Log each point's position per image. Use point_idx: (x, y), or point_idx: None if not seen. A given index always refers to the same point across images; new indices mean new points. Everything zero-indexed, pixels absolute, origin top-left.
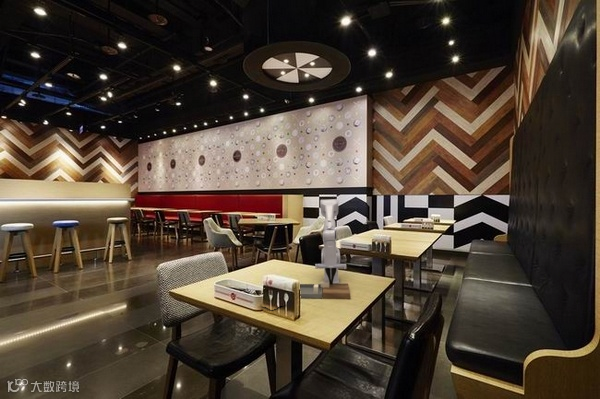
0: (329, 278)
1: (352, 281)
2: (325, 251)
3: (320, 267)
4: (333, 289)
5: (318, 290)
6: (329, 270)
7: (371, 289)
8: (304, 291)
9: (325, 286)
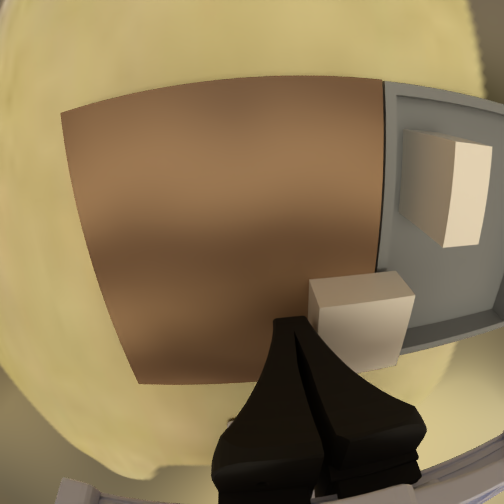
0: (324, 356)
1: (154, 442)
2: None
3: (477, 462)
4: (258, 219)
5: (415, 202)
6: (353, 454)
7: (14, 336)
8: (486, 239)
9: (351, 281)
